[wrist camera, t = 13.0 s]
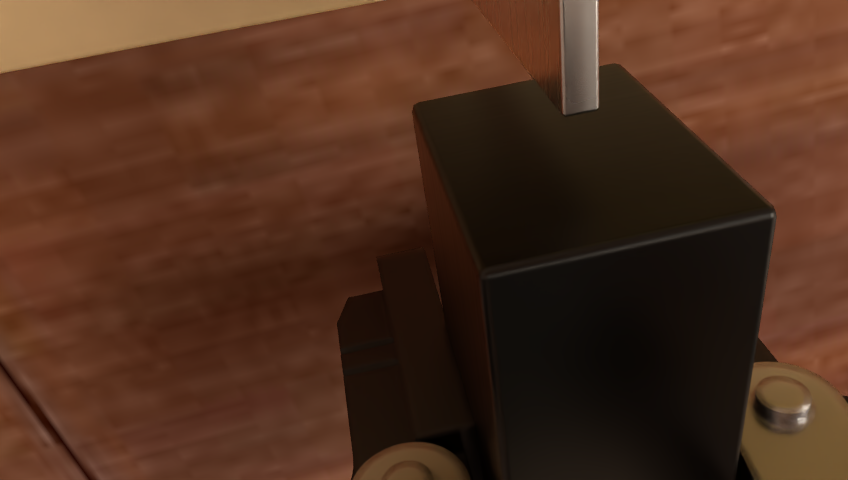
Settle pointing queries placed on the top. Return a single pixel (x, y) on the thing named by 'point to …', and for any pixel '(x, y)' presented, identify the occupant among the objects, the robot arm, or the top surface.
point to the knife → (591, 264)
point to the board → (129, 24)
